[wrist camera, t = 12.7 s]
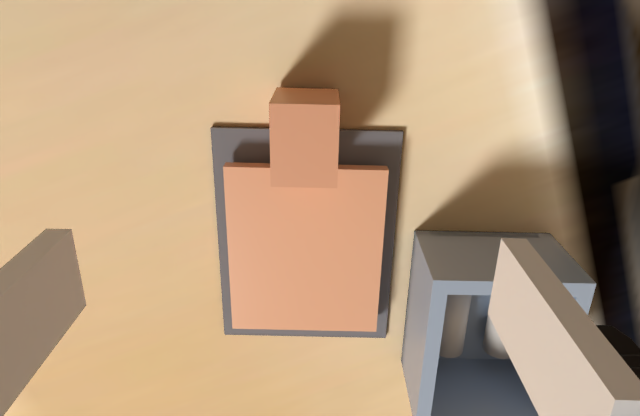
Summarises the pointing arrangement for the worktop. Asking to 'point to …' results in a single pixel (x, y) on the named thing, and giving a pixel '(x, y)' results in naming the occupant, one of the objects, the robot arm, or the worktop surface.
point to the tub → (468, 323)
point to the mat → (352, 151)
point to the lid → (305, 225)
